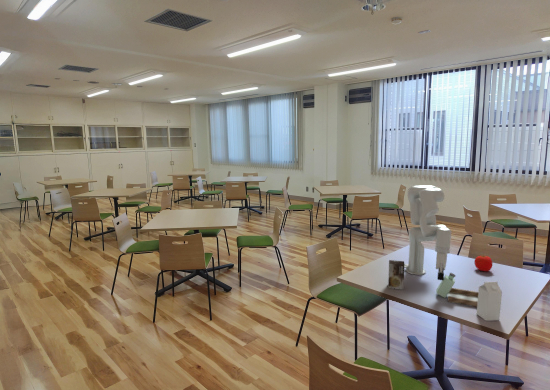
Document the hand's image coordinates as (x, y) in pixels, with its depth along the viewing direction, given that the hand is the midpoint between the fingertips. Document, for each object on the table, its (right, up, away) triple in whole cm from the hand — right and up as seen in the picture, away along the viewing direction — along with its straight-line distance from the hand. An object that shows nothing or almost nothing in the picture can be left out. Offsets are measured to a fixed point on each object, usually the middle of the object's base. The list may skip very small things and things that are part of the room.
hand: (440, 279), depth 194 cm
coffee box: (-21, -8, +13) cm, 26 cm away
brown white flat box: (+13, -10, -5) cm, 18 cm away
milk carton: (+12, -14, -24) cm, 30 cm away
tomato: (+49, -4, +39) cm, 63 cm away
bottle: (+1, -9, +1) cm, 9 cm away
